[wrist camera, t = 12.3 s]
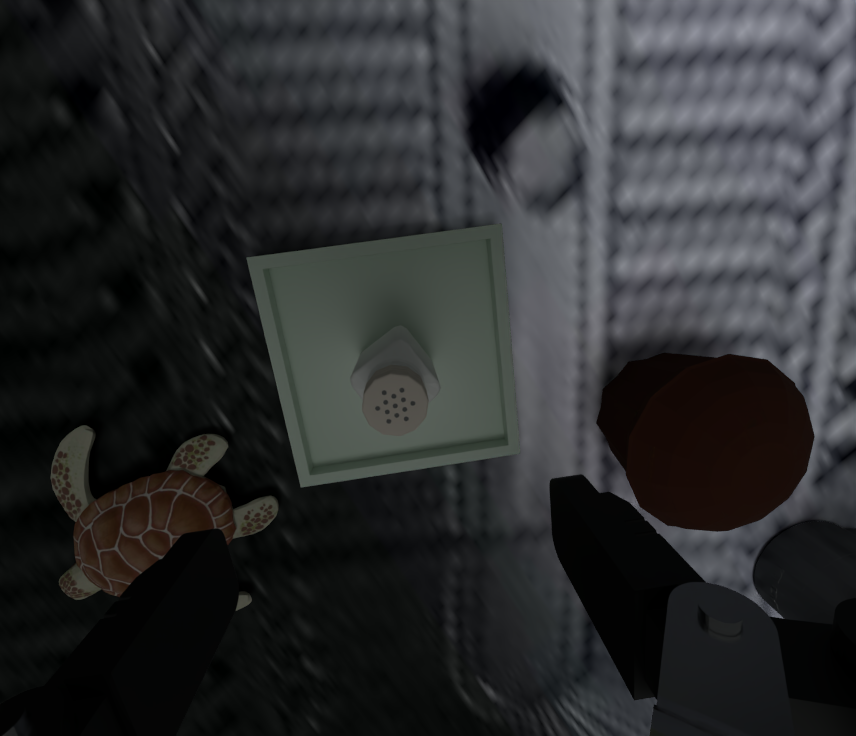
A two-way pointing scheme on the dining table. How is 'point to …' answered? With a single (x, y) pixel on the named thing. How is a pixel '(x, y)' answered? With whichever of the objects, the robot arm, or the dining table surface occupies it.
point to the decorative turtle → (145, 513)
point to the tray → (367, 322)
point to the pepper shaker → (395, 382)
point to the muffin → (707, 437)
